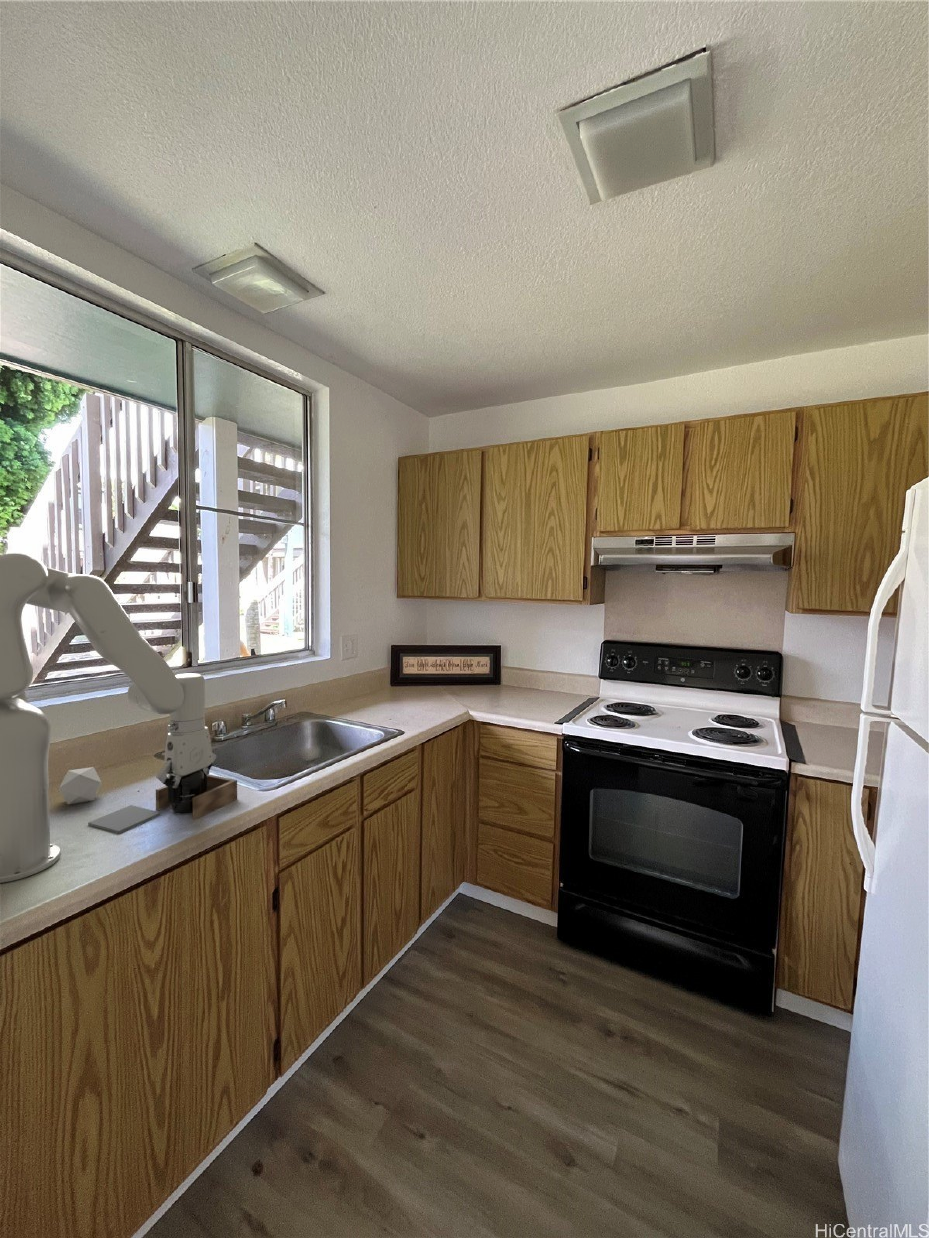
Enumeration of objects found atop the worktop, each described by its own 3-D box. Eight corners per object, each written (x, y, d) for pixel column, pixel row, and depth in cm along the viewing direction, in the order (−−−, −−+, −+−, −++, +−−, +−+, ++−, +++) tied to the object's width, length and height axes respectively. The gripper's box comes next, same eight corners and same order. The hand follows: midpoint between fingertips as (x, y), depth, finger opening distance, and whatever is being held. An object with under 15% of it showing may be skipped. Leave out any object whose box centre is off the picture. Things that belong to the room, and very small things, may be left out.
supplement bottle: (183, 817, 119) (182, 767, 118) (166, 810, 122) (165, 762, 121) (210, 806, 125) (209, 759, 124) (193, 800, 128) (192, 754, 127)
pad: (119, 833, 110) (119, 830, 110) (88, 825, 114) (88, 822, 114) (160, 814, 120) (160, 812, 120) (131, 807, 123) (131, 804, 123)
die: (105, 793, 133) (81, 764, 132) (114, 785, 128) (89, 755, 127) (72, 815, 126) (46, 785, 125) (80, 807, 121) (54, 776, 120)
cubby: (196, 819, 118) (195, 798, 118) (155, 809, 122) (155, 789, 122) (237, 799, 130) (237, 780, 129) (199, 790, 134) (199, 772, 134)
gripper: (166, 736, 113) (167, 813, 114) (227, 718, 129) (228, 786, 130) (142, 732, 115) (143, 808, 116) (205, 715, 132) (206, 781, 133)
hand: (188, 795), depth 123 cm, fingers closed on supplement bottle, 6 cm apart
